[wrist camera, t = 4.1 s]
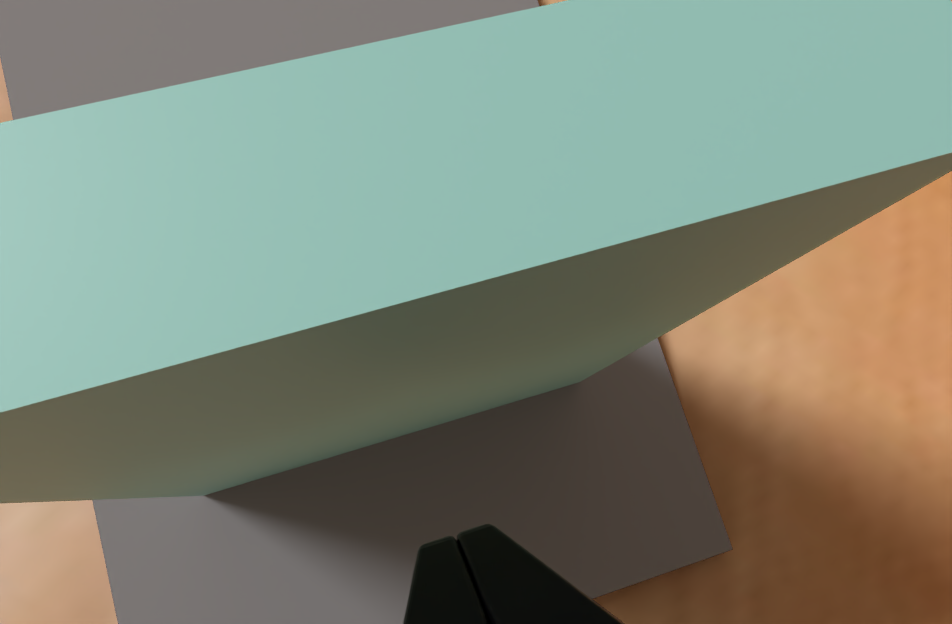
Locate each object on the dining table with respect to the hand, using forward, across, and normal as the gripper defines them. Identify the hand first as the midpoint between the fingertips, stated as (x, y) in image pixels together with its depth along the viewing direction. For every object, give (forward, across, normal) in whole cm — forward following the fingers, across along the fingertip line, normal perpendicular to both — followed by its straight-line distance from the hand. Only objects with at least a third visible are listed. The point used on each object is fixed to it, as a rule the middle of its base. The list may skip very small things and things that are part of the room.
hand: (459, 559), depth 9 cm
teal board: (+7, 0, -3) cm, 8 cm away
